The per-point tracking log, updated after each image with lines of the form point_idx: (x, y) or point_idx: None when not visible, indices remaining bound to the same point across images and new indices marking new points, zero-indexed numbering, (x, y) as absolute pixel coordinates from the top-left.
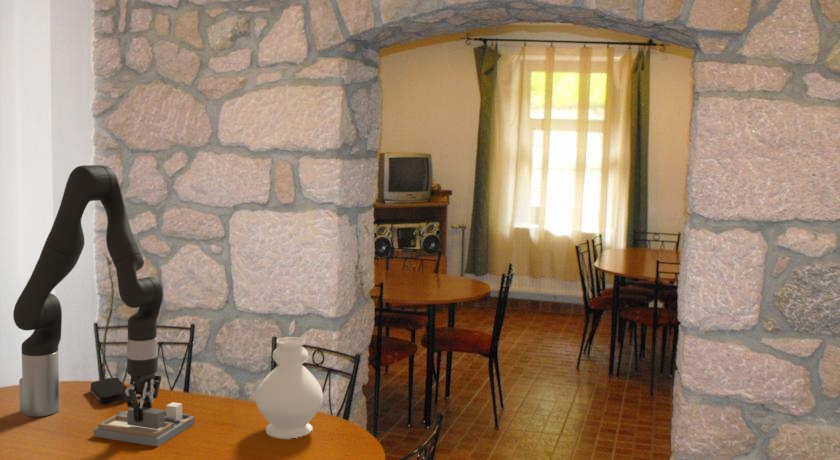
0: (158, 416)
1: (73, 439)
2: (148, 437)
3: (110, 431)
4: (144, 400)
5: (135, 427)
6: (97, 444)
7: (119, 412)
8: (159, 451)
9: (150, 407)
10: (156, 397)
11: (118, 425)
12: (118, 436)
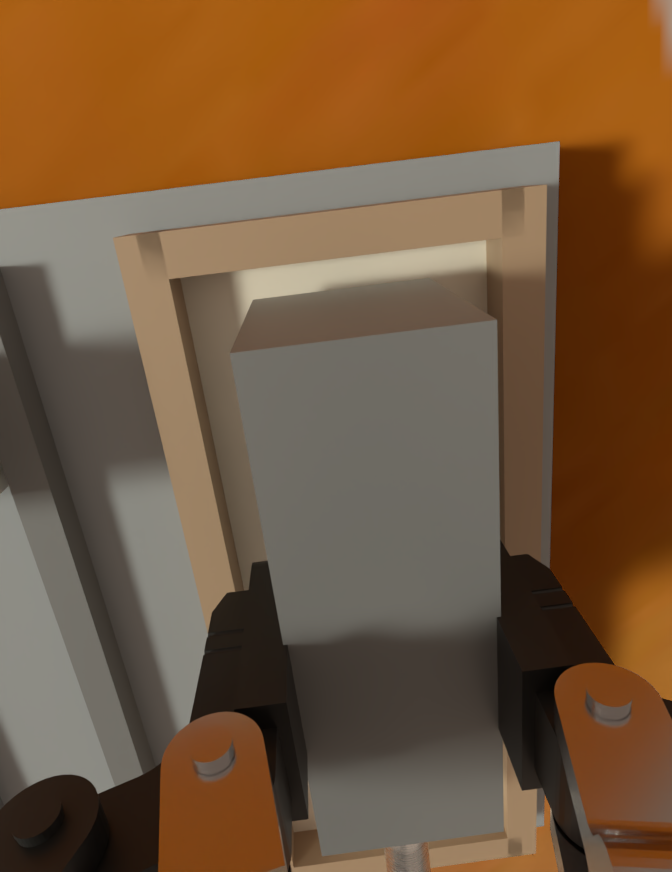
0: (446, 312)
1: None
2: (551, 291)
3: None
4: (289, 849)
5: None
6: (647, 654)
7: (422, 867)
8: (634, 29)
9: (269, 651)
10: (41, 790)
11: None
12: None
